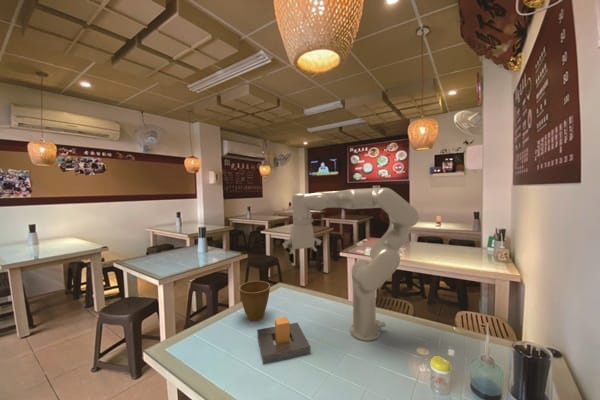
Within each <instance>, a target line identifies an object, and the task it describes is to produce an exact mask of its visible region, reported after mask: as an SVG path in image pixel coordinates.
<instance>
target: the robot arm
mask: <svg viewBox="0 0 600 400" xmlns="http://www.w3.org/2000/svg"><path fill="white" fill-rule="evenodd" d="M291 199H292V201H291V202H292V224H291V225H290V233H289V239H287V240H286V241H284V242H282V246H283V248H284V250H285V251H286V252H287V253H288V257H289V261H290V263H291V264H294V263H295V256H294V255H295V254H294V251H295V250H302V249H311V252H310V255H311V260H312V261H316V258H317V251H318V250H319V249H320V247H321V243H322V242H323V241H322V240H321V239H319V238H316V237H315V234H314V228H313V224H312V222H315V221H314V218H311V210H315V211H322V210H325V209H328V208H329V209H330V208H332V209H333V208H337V209H339V208H341V209H348V210H359V209H361V210H362V209H375V208H376V209H379V208H380V209H381V210H382V211H384V212H385V213H386V214H387V215H388V219H389V226H388V229H387V230H386V232H385V233H383V235H382V236H381V238H379V240H377V242H376V243H375V244H374V245H372V247H371V249H370V251H369V257H370V259H371V260H370V261H369V260H367V259H358V260H356V261H355V263H353V265H352V267H351V280H352V281H351V282H352V314H353V316H352V319H353V320H352V321H353V322H352V323H353V324H351V325H350V327H349V333H350V334H351V336H353V338H356V339H357V340H360V341H364V342H365V341H366V342H368V341H369V342H371V341H374V340H377V339H378V338H380V328H385V327H386V326H387V324H386V322H385V321H381V322H380V320H379V319H377V318H376V316H377V314H376V313H377V312H376V310H377V309H376V307H377V306H376V305H377V302H376V300H377V299H376V293H377V292H376V291H377V290H378V289H379V288H381V287H382V286H383V285H384V283H386V281H387V280H388V279H390V278H391V276H392V275H393V274H394V273H395V271H396V270H397V269H398V268H399V266H400V262H401V256H400V254H399V250H400V249H401V248H402V247H403V246H404V245H405V243H406V241H408V238H409V234H410V228H412V227H414V226H415V225H417V223H418V222H419V219H420V218H419V217H420V215H419V213H418V210H417V209H416V208H415V207H414V206H413V205H412V204H410V202H408V201H407V200H406V199H404V198H403V197H402V196H401V195H399V194H398V193H397V192H395V191H394V190H393V189H391V188H390V187H374V188H373V187H372V188H371V187H369V188H350V189H349V188H348V189H344V190H336V191H335V190H333V191H316V192H313V193H307V192H304V193H303V192H299V193H294V194H292V198H291ZM315 242H316V244H315ZM288 245H290V248H289V247H288Z"/></svg>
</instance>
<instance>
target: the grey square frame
mask: <svg viewBox="0 0 600 400" xmlns="http://www.w3.org/2000/svg"><path fill="white" fill-rule="evenodd" d="M256 330H257V334H256V335H257V341H258V345H259V350H260V355H261V359H262V364H263V365H266V364H271V363H276V362H280V361H284V360H289V359H294V358H298V357H302V356H307V355H311V345H310V343H309V341H308V339H307V338H306V336H305V334H304V332H303V329H301V327H300V325H299V323H298V322H293V323H290V342H288V343H283V344H278V345H276V344H275V343H274V341H275V326H270V327H265V328H259V329H256Z"/></svg>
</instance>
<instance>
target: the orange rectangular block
mask: <svg viewBox="0 0 600 400" xmlns="http://www.w3.org/2000/svg"><path fill="white" fill-rule="evenodd" d="M290 324H291V323H290V321H289V319H288V317H287V316H282V317H276V318H274V327H275V340H274V341H275V343H274V344H275V345H278V344H283V343H288V342H291V340H290Z"/></svg>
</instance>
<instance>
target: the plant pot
mask: <svg viewBox="0 0 600 400" xmlns="http://www.w3.org/2000/svg"><path fill="white" fill-rule="evenodd" d="M238 289H239V296H240V300H241V303H242V304H241V305H242V306H243V310H244V312H245V315H246V318H247V320H248V321H250V322H259V321H261V320H262V319H263V318H264V315H265V312H266V310H267V309H266V308H267V305H268V302H269V297H270V296H269V295H270V289H271V285H270V283H269V282H267V281H263V280H251V281H247V282H244V283H242V284H241V285H240V286H239V288H238Z"/></svg>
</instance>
